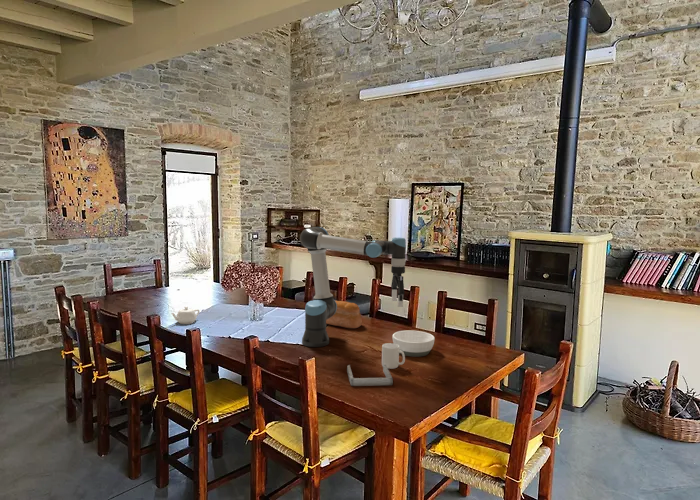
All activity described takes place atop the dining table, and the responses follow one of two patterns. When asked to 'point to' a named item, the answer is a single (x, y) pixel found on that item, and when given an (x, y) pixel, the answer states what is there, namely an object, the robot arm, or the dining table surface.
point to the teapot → (186, 316)
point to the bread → (346, 315)
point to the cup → (391, 355)
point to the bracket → (370, 379)
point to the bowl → (414, 342)
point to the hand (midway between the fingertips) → (397, 303)
